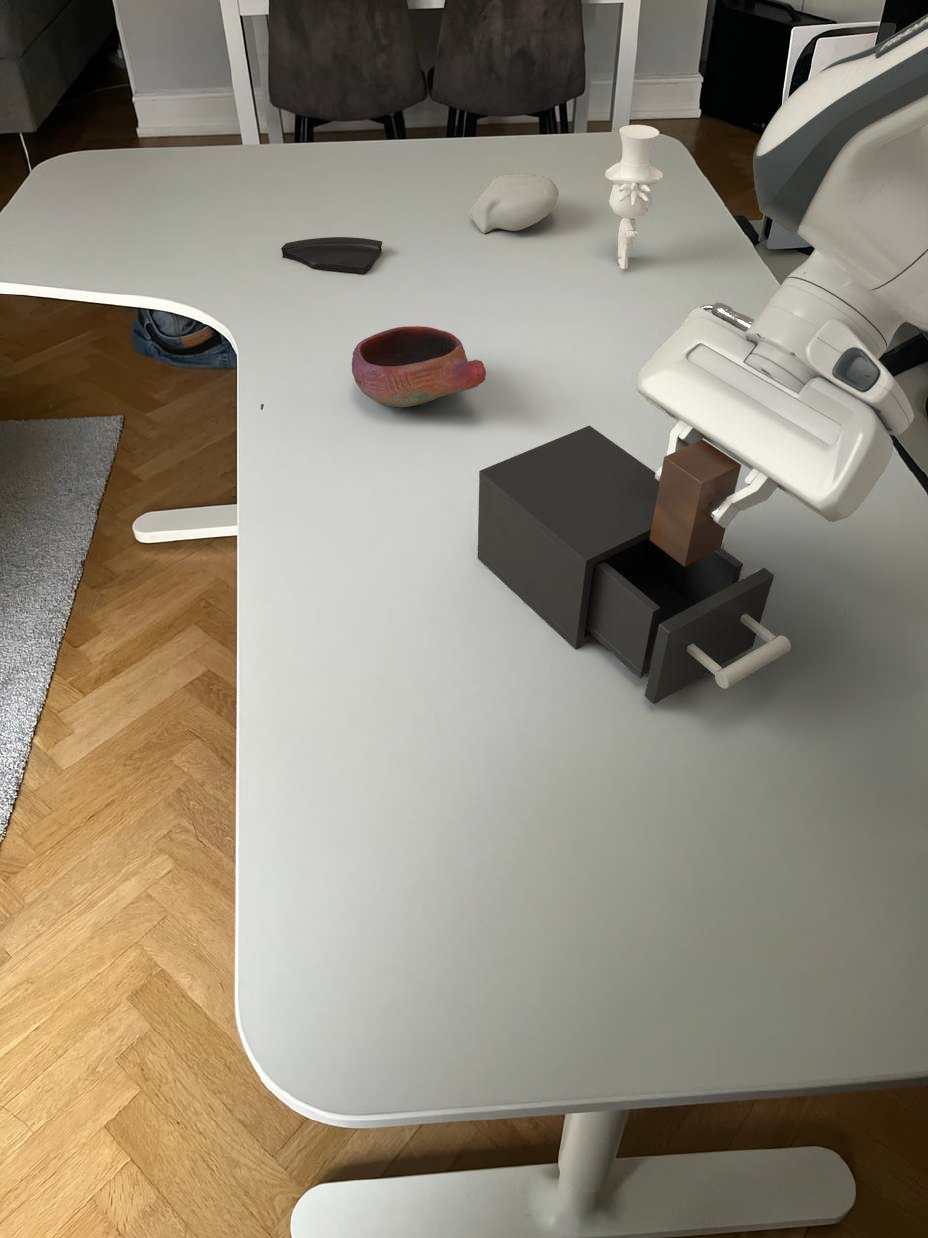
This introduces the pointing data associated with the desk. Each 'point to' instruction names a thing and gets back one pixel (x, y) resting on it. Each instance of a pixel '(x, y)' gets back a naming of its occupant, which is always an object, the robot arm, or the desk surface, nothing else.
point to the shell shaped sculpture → (514, 202)
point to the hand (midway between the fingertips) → (688, 503)
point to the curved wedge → (334, 253)
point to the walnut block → (692, 501)
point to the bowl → (413, 366)
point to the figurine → (632, 183)
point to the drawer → (680, 617)
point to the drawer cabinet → (562, 522)
